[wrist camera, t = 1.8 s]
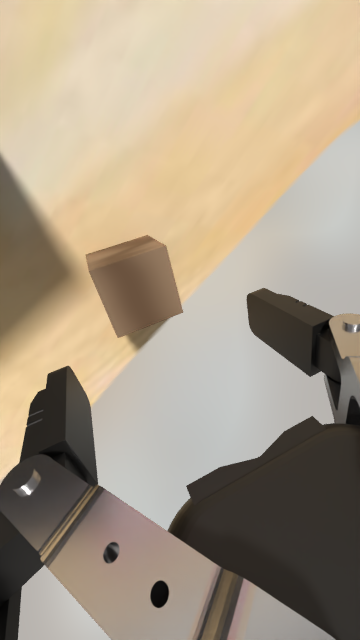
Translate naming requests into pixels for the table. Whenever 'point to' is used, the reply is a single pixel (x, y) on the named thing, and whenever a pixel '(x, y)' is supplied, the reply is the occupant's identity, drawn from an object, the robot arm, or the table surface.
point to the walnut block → (135, 284)
